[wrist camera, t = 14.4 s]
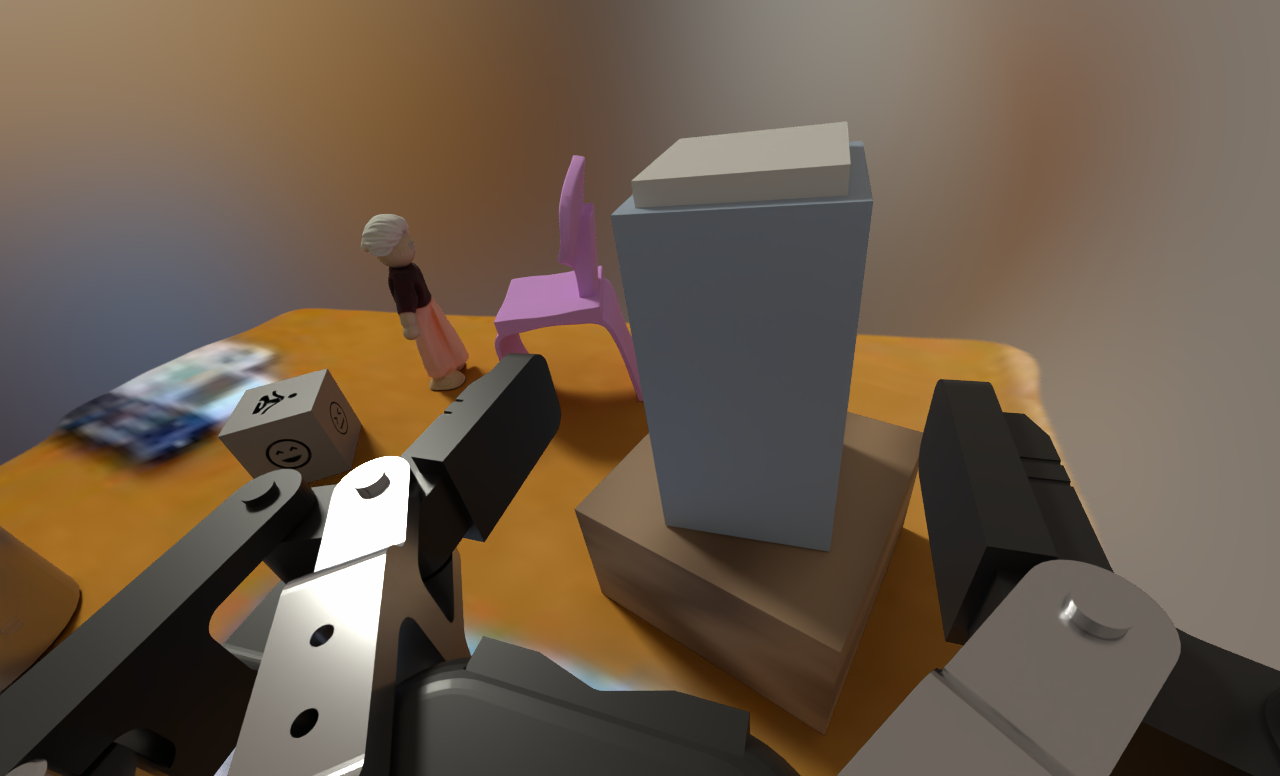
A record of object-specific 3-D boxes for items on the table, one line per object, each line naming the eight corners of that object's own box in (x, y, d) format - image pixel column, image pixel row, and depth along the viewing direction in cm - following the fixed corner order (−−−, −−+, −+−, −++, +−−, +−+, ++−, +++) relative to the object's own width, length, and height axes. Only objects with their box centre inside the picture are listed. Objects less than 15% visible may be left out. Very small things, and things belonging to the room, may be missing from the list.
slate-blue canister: (665, 525, 18) (605, 188, 11) (698, 425, 22) (669, 137, 15) (830, 551, 16) (877, 168, 9) (831, 438, 20) (865, 116, 13)
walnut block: (603, 596, 22) (574, 509, 19) (713, 458, 28) (706, 372, 25) (823, 738, 17) (840, 652, 13) (901, 530, 23) (927, 433, 19)
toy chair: (531, 361, 40) (467, 162, 31) (640, 346, 39) (606, 139, 31) (514, 428, 33) (426, 197, 24) (645, 411, 32) (603, 169, 24)
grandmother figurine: (481, 386, 38) (414, 219, 30) (430, 404, 37) (347, 236, 29) (464, 344, 44) (404, 196, 36) (420, 359, 42) (349, 210, 35)
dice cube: (288, 446, 35) (246, 390, 32) (362, 425, 36) (327, 368, 33) (268, 496, 31) (217, 436, 28) (351, 470, 32) (310, 410, 29)
